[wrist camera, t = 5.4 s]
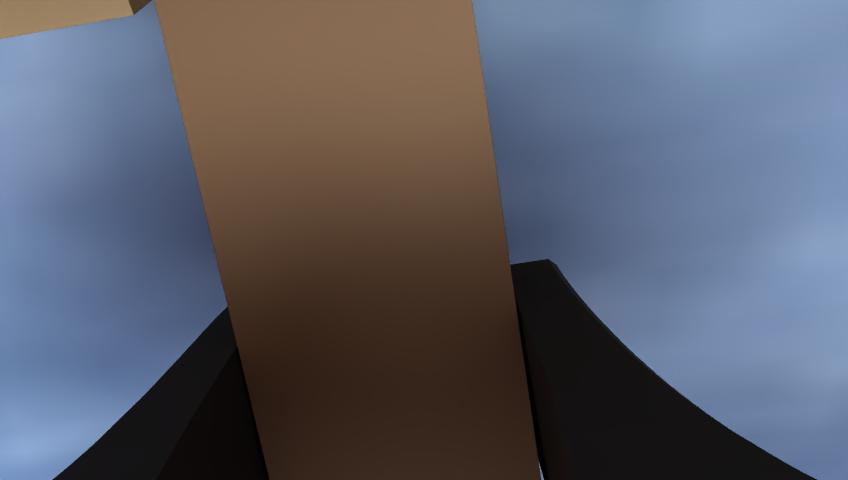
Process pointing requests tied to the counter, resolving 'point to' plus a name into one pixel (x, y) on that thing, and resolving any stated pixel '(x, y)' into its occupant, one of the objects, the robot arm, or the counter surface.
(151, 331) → the counter surface
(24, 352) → the counter surface
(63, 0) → the wooden post
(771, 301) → the counter surface
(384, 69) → the brown rectangular block
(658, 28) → the counter surface
